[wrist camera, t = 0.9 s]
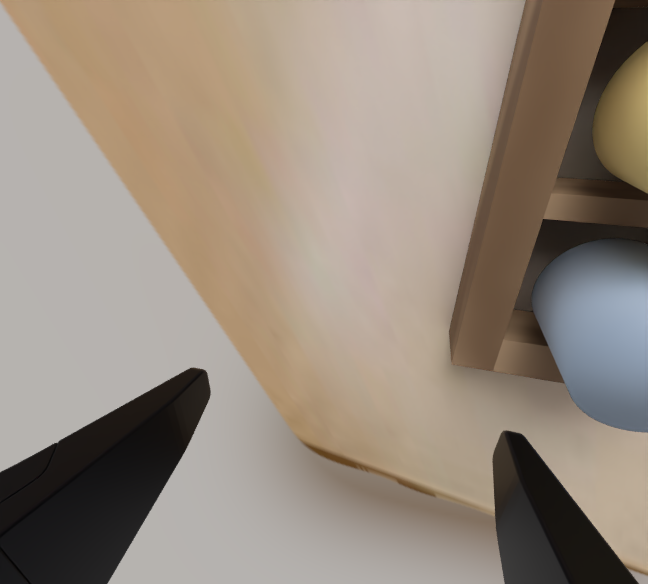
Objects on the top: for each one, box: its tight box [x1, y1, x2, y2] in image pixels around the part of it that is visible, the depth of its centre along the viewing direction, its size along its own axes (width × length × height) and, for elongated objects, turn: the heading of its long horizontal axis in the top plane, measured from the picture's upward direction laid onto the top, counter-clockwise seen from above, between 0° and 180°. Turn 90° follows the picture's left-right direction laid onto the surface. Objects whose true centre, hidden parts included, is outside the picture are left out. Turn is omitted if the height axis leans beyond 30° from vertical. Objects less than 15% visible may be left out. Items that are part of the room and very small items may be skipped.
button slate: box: [531, 238, 648, 432], centre depth 13 cm, size 5×5×5 cm
